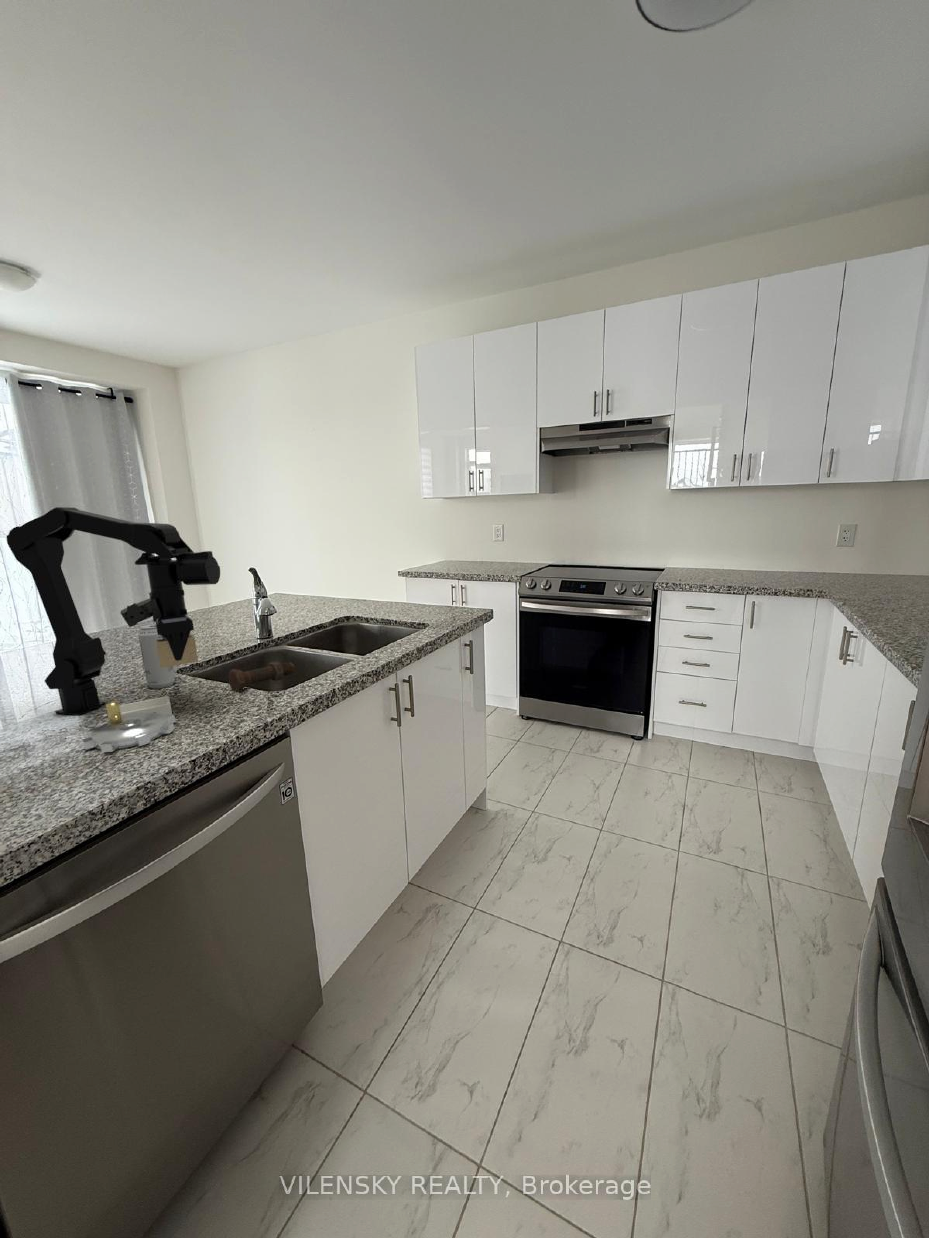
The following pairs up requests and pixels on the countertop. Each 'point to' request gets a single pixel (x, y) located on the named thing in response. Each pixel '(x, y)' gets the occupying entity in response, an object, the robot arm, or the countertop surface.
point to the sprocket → (127, 729)
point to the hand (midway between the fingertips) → (177, 658)
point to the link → (167, 656)
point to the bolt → (259, 675)
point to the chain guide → (147, 707)
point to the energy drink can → (153, 659)
